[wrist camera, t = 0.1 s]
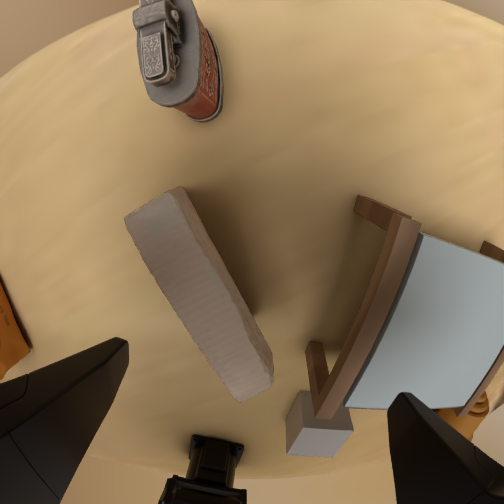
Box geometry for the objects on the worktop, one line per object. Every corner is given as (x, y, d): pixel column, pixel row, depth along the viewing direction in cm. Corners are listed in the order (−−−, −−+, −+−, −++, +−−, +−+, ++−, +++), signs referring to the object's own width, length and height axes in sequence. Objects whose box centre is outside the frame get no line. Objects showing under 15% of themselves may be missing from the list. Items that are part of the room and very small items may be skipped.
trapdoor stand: (491, 243, 20) (545, 274, 13) (434, 367, 25) (464, 417, 17) (358, 194, 20) (403, 215, 13) (305, 352, 25) (314, 419, 17)
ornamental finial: (453, 415, 28) (472, 452, 21) (413, 419, 28) (431, 463, 21) (483, 371, 25) (510, 407, 18) (445, 372, 25) (472, 416, 18)
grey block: (139, 211, 20) (111, 220, 11) (180, 188, 21) (182, 179, 12) (214, 338, 24) (238, 411, 15) (251, 318, 24) (293, 381, 15)
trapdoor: (526, 272, 14) (534, 277, 13) (456, 402, 18) (460, 409, 17) (416, 230, 14) (424, 235, 13) (339, 400, 18) (341, 410, 17)
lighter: (173, 35, 17) (116, -25, 8) (215, 25, 17) (180, -48, 7) (184, 126, 20) (118, 105, 10) (229, 117, 19) (194, 83, 10)
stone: (327, 423, 28) (332, 457, 23) (285, 419, 28) (286, 454, 23) (345, 395, 26) (353, 430, 22) (300, 389, 26) (303, 427, 22)
